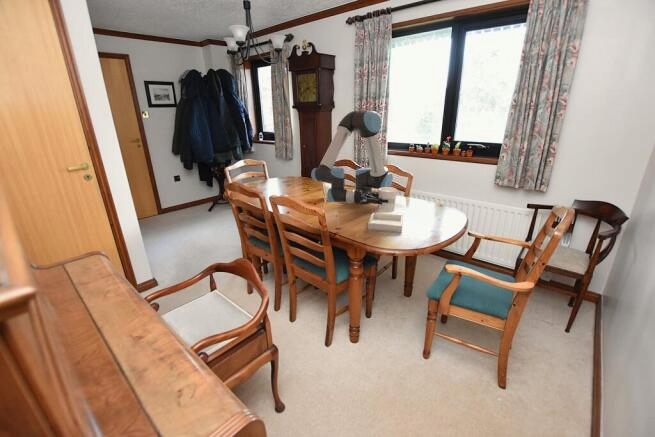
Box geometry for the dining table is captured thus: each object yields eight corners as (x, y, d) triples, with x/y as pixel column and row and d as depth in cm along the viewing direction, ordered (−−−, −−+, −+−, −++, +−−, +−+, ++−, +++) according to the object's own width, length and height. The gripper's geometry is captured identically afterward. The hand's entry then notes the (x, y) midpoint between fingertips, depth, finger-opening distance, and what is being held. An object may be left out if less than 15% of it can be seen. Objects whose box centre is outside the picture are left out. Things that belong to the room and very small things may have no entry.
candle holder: (395, 213, 167) (396, 192, 162) (377, 212, 168) (377, 191, 164) (395, 207, 176) (396, 187, 171) (377, 207, 178) (378, 186, 173)
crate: (372, 218, 186) (372, 212, 184) (402, 221, 181) (403, 214, 180) (367, 230, 170) (368, 223, 168) (401, 232, 165) (401, 226, 164)
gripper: (358, 197, 185) (396, 199, 180) (350, 208, 166) (393, 211, 160) (358, 185, 183) (397, 186, 177) (351, 195, 163) (394, 197, 157)
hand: (395, 198), depth 168 cm, fingers closed on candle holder, 9 cm apart
